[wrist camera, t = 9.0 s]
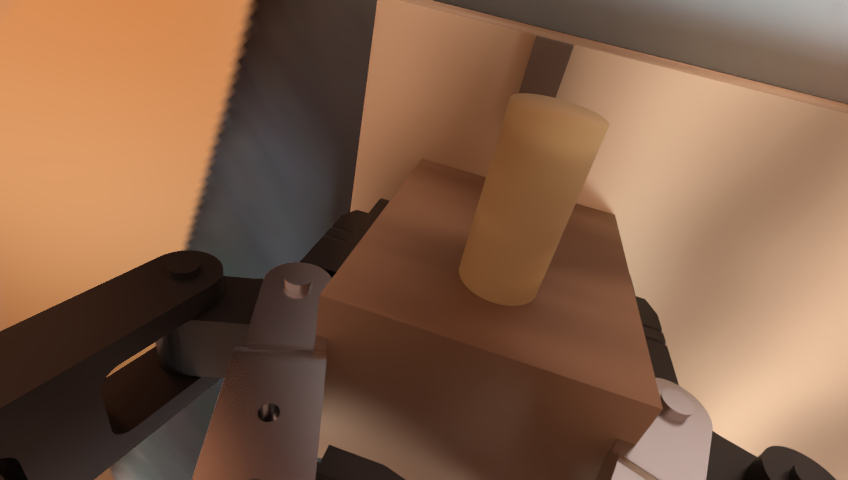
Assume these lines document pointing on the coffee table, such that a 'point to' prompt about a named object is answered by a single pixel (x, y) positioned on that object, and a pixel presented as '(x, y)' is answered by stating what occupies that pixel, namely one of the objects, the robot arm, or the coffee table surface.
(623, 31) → the coffee table surface
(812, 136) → the board
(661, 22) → the coffee table surface
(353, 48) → the coffee table surface
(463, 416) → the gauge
